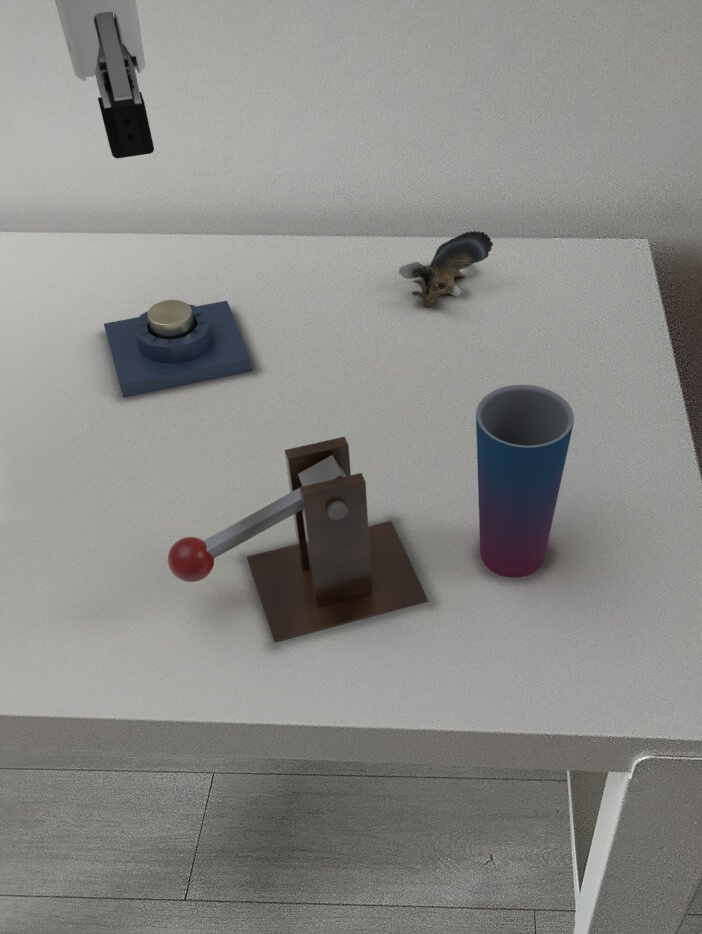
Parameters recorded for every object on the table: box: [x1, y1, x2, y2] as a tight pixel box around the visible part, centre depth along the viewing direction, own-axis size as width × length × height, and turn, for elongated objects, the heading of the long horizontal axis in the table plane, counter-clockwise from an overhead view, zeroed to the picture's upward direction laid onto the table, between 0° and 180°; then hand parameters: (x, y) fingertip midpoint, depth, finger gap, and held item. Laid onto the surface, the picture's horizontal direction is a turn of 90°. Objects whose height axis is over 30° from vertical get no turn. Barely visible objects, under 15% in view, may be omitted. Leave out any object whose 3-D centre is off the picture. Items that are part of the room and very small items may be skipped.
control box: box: [103, 300, 253, 398], centre depth 98 cm, size 12×10×4 cm
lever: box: [167, 455, 346, 583], centre depth 73 cm, size 14×3×3 cm, turn 111°
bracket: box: [245, 436, 429, 644], centre depth 77 cm, size 12×9×13 cm
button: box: [147, 299, 195, 340], centre depth 97 cm, size 4×4×2 cm
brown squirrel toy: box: [398, 230, 494, 308], centre depth 106 cm, size 8×7×9 cm
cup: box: [475, 384, 575, 578], centre depth 78 cm, size 7×7×15 cm
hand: (132, 150), depth 81 cm, fingers closed
